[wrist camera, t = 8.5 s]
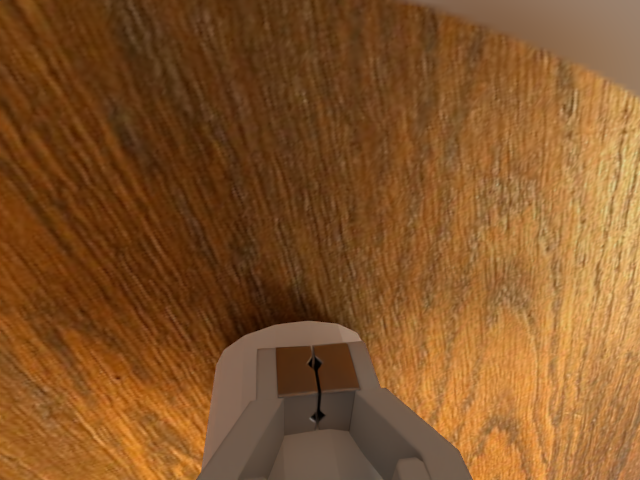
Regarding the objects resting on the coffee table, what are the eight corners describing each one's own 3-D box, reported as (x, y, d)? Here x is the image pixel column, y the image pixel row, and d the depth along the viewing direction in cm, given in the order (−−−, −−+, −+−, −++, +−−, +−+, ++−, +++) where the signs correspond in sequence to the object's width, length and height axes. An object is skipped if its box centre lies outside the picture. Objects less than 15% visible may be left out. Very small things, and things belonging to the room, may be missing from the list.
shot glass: (154, 367, 12) (98, 692, 7) (323, 281, 10) (401, 641, 5) (274, 410, 17) (289, 626, 12) (405, 356, 15) (487, 586, 10)
